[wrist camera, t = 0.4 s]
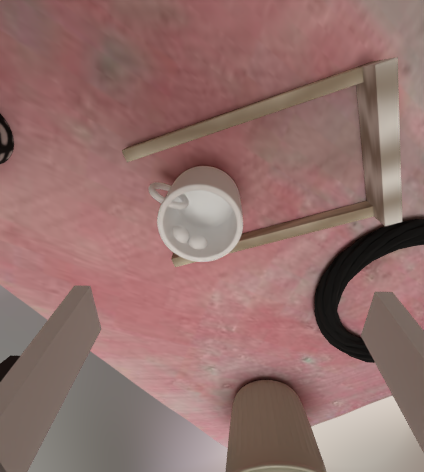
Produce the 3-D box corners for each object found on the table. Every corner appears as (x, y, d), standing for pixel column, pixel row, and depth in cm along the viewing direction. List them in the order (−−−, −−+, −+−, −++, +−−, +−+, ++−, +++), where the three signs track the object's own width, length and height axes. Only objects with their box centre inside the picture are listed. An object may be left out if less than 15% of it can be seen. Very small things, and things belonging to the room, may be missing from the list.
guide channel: (126, 147, 37) (113, 156, 33) (373, 61, 32) (397, 57, 27) (177, 260, 45) (171, 279, 40) (382, 206, 39) (402, 221, 35)
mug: (143, 207, 41) (123, 237, 33) (171, 141, 37) (156, 157, 28) (217, 242, 43) (215, 278, 35) (253, 183, 39) (259, 209, 31)
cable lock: (319, 237, 38) (572, 210, 35) (312, 225, 42) (541, 199, 38) (316, 374, 51) (502, 364, 47) (310, 356, 54) (483, 345, 51)
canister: (204, 388, 59) (194, 526, 41) (279, 353, 54) (308, 496, 35) (253, 429, 65) (264, 566, 47) (325, 403, 60) (370, 547, 41)
